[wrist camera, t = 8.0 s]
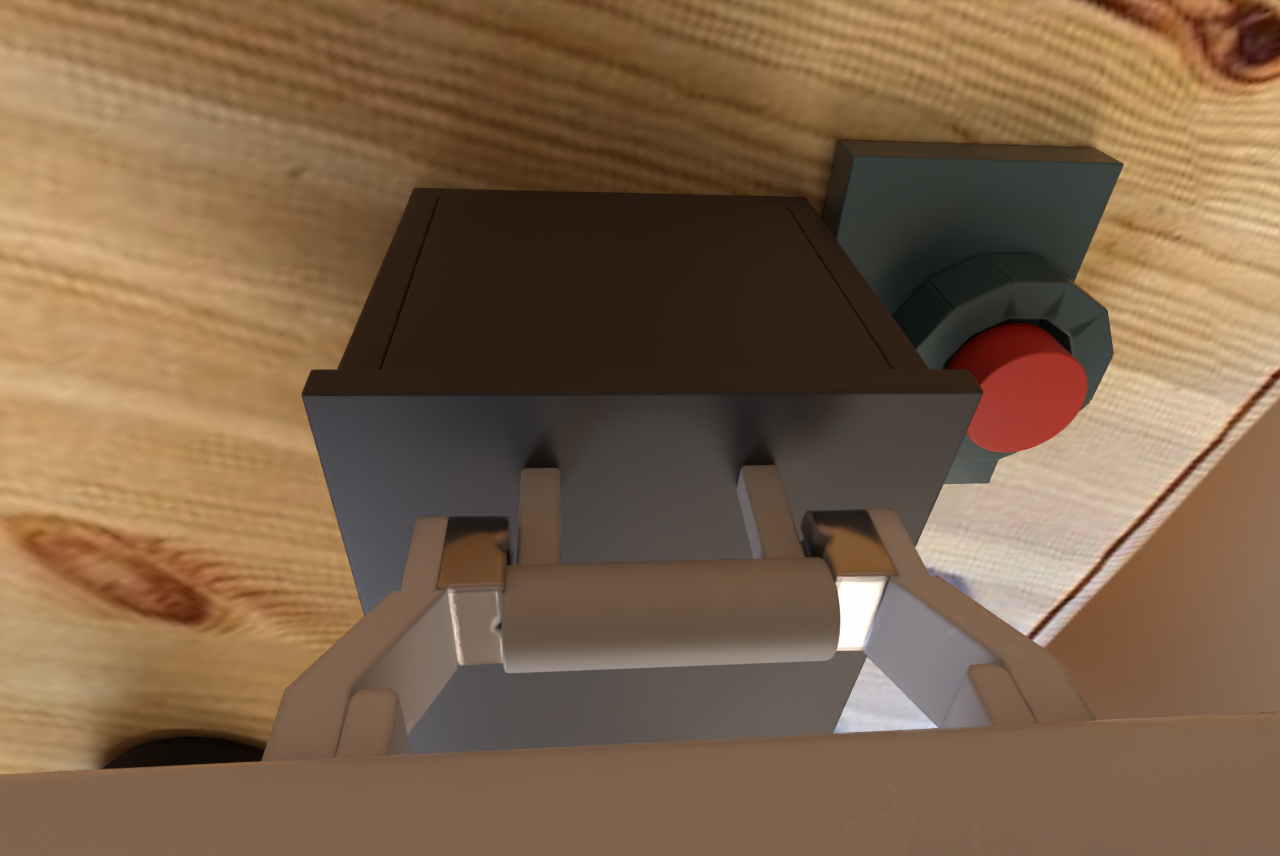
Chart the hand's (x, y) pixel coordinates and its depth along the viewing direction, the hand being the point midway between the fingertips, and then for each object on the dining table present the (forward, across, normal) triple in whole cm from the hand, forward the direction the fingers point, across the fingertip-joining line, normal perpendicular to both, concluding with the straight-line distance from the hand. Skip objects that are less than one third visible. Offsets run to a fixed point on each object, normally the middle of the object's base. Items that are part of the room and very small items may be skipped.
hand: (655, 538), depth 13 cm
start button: (+10, -12, +3) cm, 16 cm away
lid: (+3, 0, +5) cm, 6 cm away
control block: (+13, -10, +3) cm, 17 cm away
